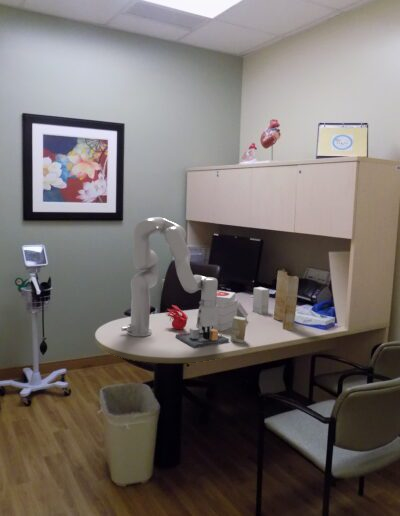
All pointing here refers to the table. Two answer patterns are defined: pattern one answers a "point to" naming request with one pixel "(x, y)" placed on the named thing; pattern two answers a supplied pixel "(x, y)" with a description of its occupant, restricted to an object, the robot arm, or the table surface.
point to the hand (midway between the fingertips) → (206, 338)
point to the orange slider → (213, 335)
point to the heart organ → (177, 318)
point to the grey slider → (194, 333)
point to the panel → (200, 340)
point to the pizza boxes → (228, 310)
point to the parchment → (286, 299)
